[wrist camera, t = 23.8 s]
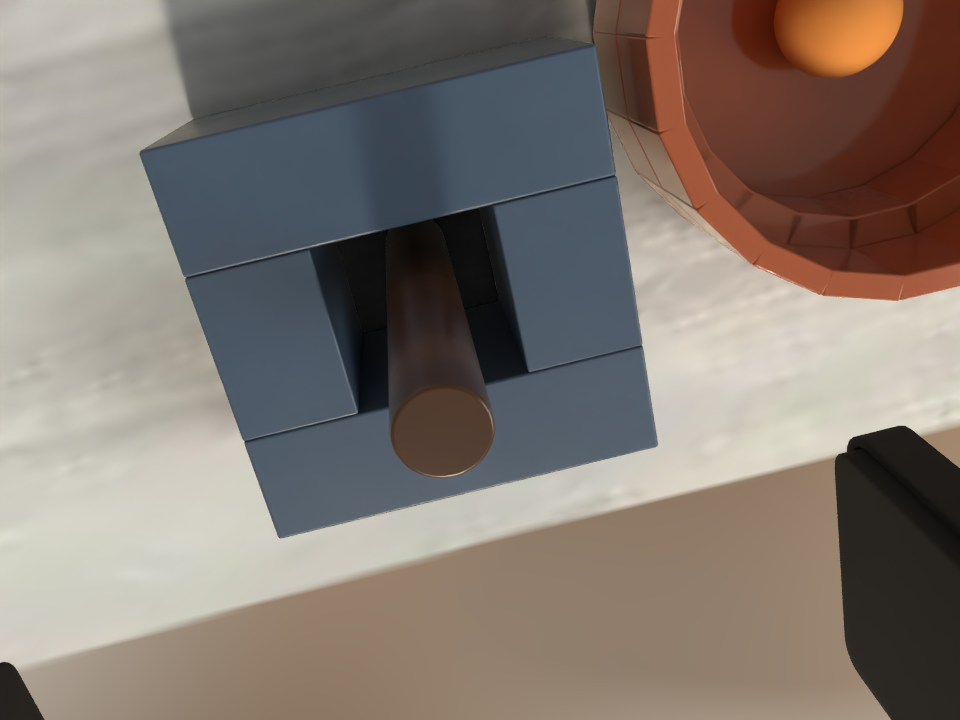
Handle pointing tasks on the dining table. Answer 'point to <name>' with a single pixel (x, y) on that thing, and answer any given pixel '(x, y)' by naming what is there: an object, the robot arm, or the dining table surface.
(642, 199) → the dining table surface
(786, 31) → the ball
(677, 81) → the bowl
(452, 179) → the holder
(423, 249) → the stick
